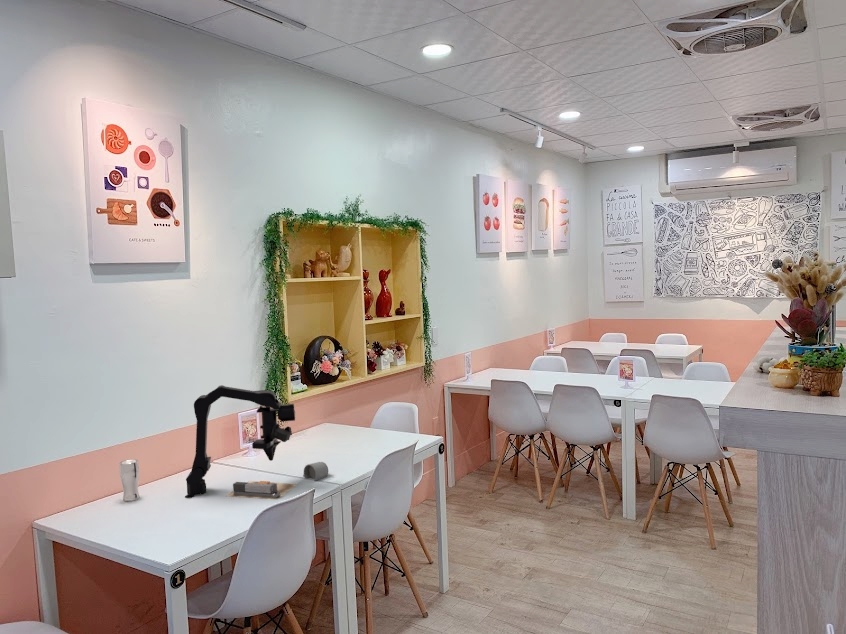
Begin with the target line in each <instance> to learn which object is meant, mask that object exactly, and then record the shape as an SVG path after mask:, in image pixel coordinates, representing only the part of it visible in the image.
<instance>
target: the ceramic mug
mask: <svg viewBox="0 0 846 634" xmlns="http://www.w3.org/2000/svg"><path fill="white" fill-rule="evenodd" d="M328 475H329V467H328V465H327V463H325V462H324V461H317V462H313V463H309V464H306V465H305V466H304V468H303V475H302V477H303V478H304V479H306V480H307V479H309V478H311V479H313V482H315V481H318V480H321V479H324V478H326V477H328Z"/></svg>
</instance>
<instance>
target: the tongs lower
mask: <svg viewBox="0 0 846 634" xmlns="http://www.w3.org/2000/svg"><path fill="white" fill-rule="evenodd" d="M232 492H233V491H232ZM233 493H234V495H236V496H251V497H265V498H272V499H271V500H274V499H276V498H279V497H280V492H277V484H273V492H272V493H258V492H238V491H234V492H233ZM280 498H281V497H280ZM280 498H279V499H280Z"/></svg>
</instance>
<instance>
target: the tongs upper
mask: <svg viewBox="0 0 846 634" xmlns="http://www.w3.org/2000/svg"><path fill="white" fill-rule="evenodd" d="M248 482H249V481H247V482H245V481H235V482H234V483H233V484H232V487H233V488H232V490H233V491H238V492H258V493H272V492H273V484H259V483H248ZM233 491H232V492H233Z"/></svg>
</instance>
